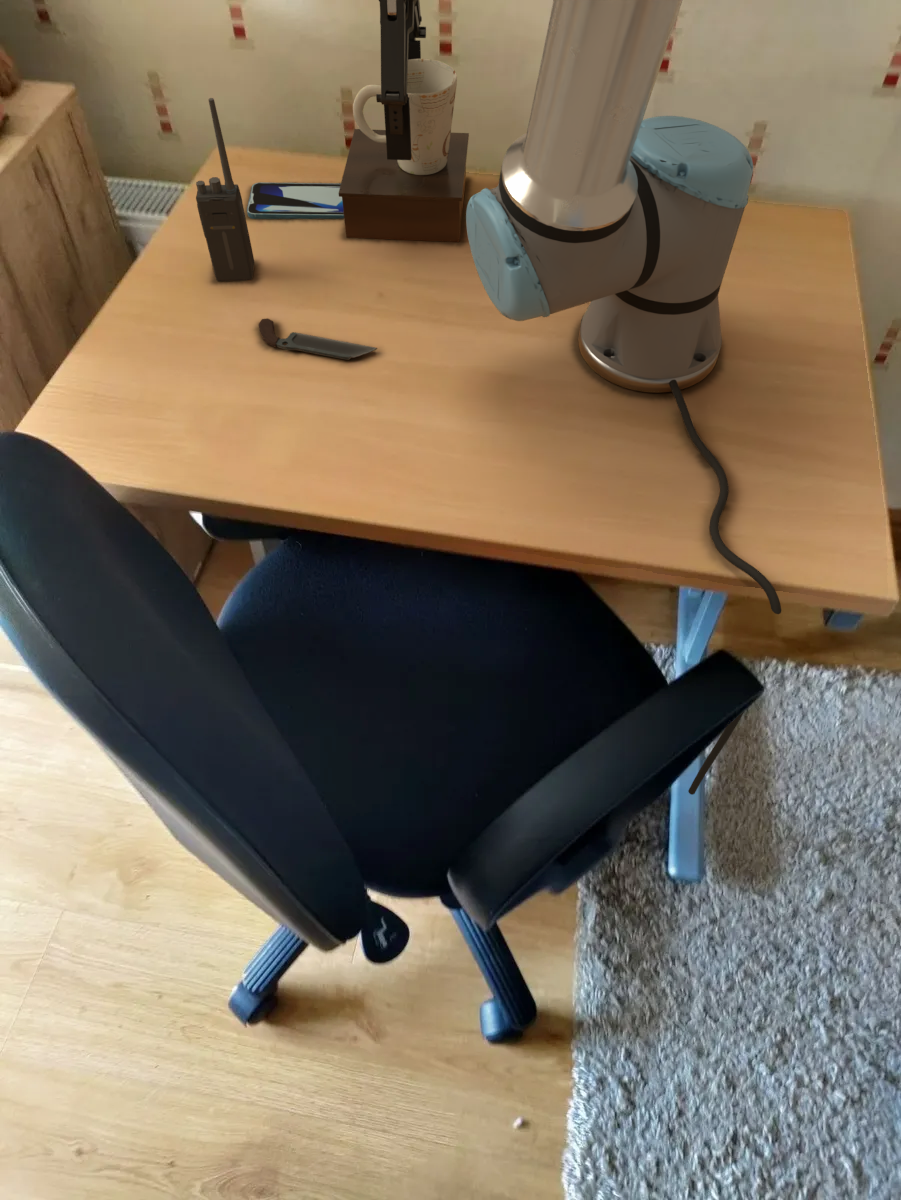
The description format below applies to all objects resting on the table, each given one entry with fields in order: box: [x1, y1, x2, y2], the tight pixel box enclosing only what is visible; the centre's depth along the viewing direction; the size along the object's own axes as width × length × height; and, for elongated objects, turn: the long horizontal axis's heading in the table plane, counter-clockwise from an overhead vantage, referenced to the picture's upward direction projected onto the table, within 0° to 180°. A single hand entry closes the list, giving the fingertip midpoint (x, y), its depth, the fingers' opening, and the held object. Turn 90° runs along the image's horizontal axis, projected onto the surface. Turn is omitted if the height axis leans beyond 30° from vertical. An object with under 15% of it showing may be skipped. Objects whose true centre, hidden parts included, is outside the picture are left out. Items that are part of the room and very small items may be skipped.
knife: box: [258, 318, 378, 360], centre depth 97 cm, size 14×4×1 cm, turn 74°
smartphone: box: [246, 181, 344, 220], centre depth 113 cm, size 7×1×15 cm
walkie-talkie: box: [195, 97, 255, 282], centre depth 97 cm, size 5×3×20 cm
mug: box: [352, 58, 458, 175], centre depth 104 cm, size 8×13×10 cm, turn 79°
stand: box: [339, 128, 470, 243], centre depth 110 cm, size 15×15×6 cm
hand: (405, 128), depth 104 cm, fingers open, 13 cm apart
